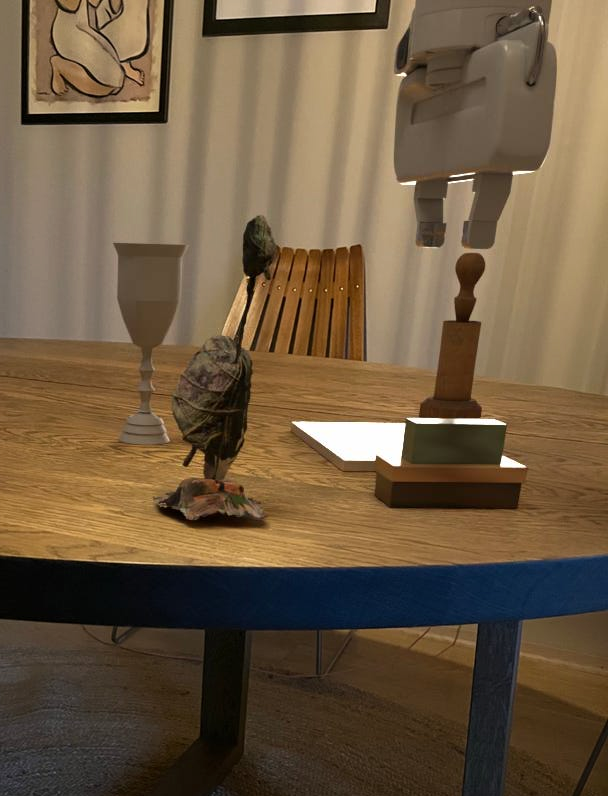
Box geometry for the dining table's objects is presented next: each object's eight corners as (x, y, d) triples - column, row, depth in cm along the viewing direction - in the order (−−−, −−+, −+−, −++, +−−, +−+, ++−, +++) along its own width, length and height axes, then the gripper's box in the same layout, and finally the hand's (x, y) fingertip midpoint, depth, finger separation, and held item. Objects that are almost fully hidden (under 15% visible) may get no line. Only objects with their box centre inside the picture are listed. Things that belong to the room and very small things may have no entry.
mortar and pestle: (408, 425, 114) (430, 251, 107) (429, 418, 119) (451, 252, 112) (468, 433, 110) (494, 253, 104) (486, 425, 115) (513, 253, 109)
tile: (419, 433, 109) (421, 423, 109) (497, 472, 91) (499, 461, 90) (290, 431, 108) (291, 421, 108) (342, 471, 90) (343, 460, 89)
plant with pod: (253, 493, 81) (273, 218, 74) (273, 531, 70) (299, 214, 63) (150, 490, 81) (160, 214, 73) (154, 528, 70) (166, 210, 63)
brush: (497, 495, 82) (510, 417, 80) (521, 509, 78) (535, 427, 76) (370, 494, 81) (379, 415, 79) (388, 508, 77) (398, 425, 75)
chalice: (145, 449, 97) (152, 243, 90) (93, 439, 101) (96, 242, 94) (194, 440, 102) (204, 245, 95) (143, 431, 106) (149, 243, 99)
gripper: (600, -1, 61) (559, 251, 66) (467, 56, 80) (443, 247, 85) (496, -5, 60) (463, 248, 65) (387, 53, 79) (368, 246, 84)
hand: (451, 248), depth 75 cm, fingers open, 8 cm apart
